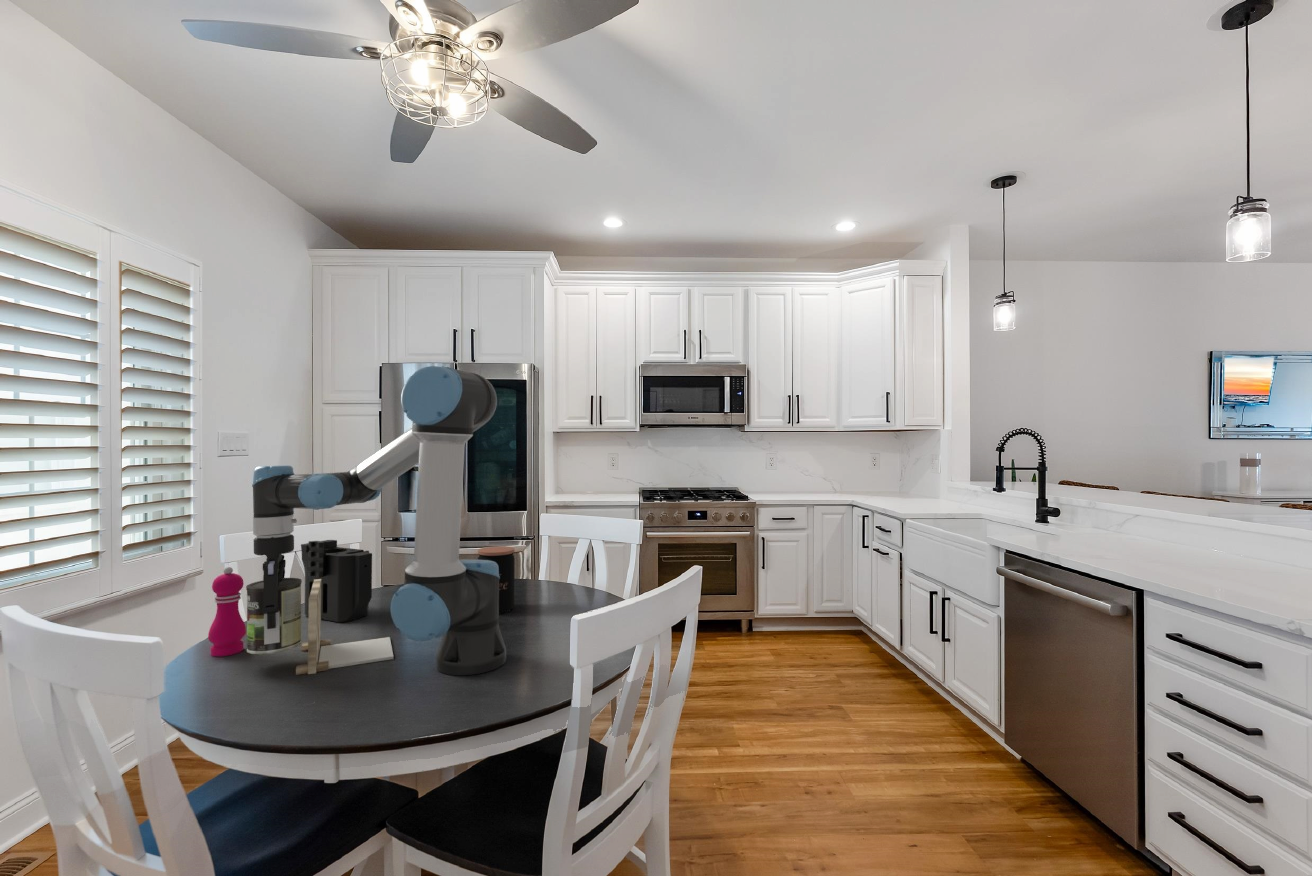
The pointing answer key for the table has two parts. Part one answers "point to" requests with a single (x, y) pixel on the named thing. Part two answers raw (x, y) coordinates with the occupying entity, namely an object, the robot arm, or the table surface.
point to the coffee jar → (502, 572)
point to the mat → (356, 652)
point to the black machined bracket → (338, 579)
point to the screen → (314, 634)
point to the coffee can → (288, 617)
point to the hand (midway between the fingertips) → (275, 635)
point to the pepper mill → (227, 615)
